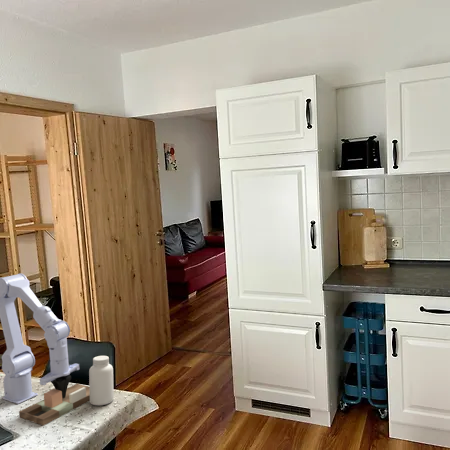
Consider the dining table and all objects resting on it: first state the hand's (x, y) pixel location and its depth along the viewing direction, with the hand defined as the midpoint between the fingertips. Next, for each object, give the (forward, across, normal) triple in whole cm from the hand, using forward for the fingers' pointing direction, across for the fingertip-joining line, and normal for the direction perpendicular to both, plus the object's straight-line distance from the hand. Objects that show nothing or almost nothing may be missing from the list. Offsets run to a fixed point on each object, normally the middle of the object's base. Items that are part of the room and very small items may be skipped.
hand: (62, 397), depth 151 cm
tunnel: (+1, +3, 0) cm, 3 cm away
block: (+1, -4, 0) cm, 4 cm away
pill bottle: (+3, +8, -10) cm, 13 cm away
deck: (+3, 0, 0) cm, 3 cm away
